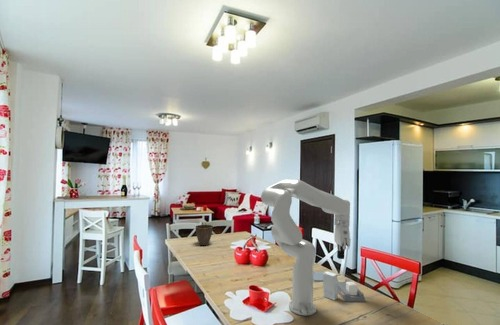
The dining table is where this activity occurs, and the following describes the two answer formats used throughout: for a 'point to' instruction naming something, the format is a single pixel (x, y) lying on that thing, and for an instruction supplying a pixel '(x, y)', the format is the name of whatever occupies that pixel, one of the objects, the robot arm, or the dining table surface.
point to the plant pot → (204, 234)
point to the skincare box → (330, 285)
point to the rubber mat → (318, 276)
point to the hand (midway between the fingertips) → (340, 258)
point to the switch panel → (346, 295)
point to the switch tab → (351, 288)
